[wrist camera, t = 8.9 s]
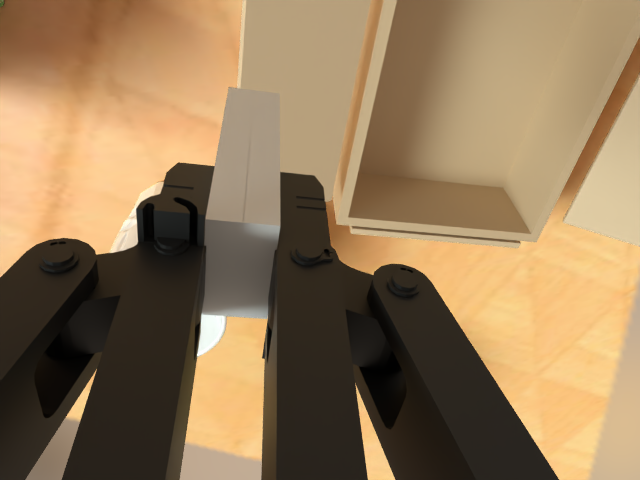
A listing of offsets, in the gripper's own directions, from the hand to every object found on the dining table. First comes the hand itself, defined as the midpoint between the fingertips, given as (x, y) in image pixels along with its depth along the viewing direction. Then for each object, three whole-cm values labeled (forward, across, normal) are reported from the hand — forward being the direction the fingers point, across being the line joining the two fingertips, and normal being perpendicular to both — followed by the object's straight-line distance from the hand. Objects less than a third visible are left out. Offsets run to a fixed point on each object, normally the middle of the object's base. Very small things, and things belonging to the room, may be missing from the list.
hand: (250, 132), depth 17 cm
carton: (+17, +12, 0) cm, 21 cm away
